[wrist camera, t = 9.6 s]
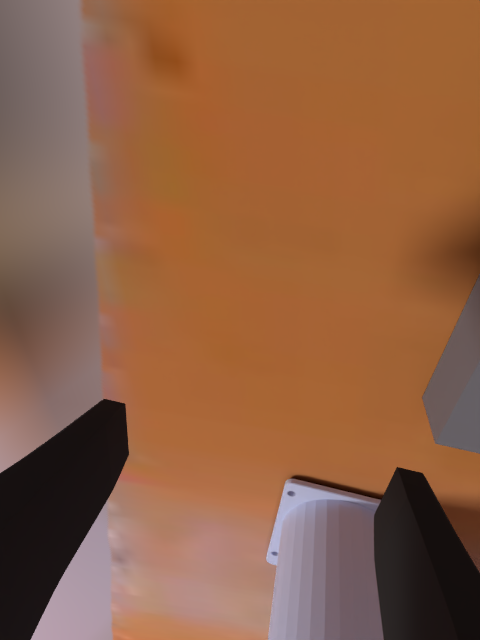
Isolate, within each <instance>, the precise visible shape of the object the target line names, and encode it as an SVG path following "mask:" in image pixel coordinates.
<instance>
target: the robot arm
mask: <svg viewBox="0 0 480 640" xmlns="http://www.w3.org/2000/svg"><path fill="white" fill-rule="evenodd" d="M128 455H129V449H128V436H127V422H126V408H125V404H124V403H120V402H116V401H111V400H107V399H103V400H102V401H100V402H99V403H98V404H96V405H95V406H94V407H92V408H91V409H90V410H88V411H87V412H86V413H84V414H83V415H82V416H80V417H79V418H78V419H76V420H75V421H74V422H73V423H71V424H70V425H69V426H67V427H66V428H64V429H63V430H62V431H60V432H59V433H58V434H56V435H55V436H54V437H52V438H51V439H49V440H48V441H47V442H45V443H44V444H42V445H41V446H40V447H38V448H37V449H36V450H34V451H33V452H31V453H30V454H28V455H27V456H26V457H24V458H23V459H21V460H20V461H18V462H17V463H15V464H14V465H12V466H11V467H9V468H8V469H6V470H4V471H3V472H1V473H0V640H30V639H31V638H32V635H33V633H34V631H35V629H36V627H37V625H38V623H39V621H40V619H41V617H42V615H43V613H44V611H45V609H46V607H47V605H48V603H49V600H50V598H51V596H52V594H53V592H54V590H55V588H56V587H57V585H58V583H59V581H60V579H61V577H62V576H63V574H64V572H65V570H66V569H67V567H68V565H69V564H70V562H71V560H72V558H73V557H74V555H75V553H76V552H77V550H78V548H79V547H80V545H81V543H82V542H83V540H84V538H85V537H86V535H87V533H88V531H89V530H90V528H91V526H92V524H93V523H94V521H95V520H96V518H97V516H98V515H99V513H100V511H101V509H102V508H103V506H104V504H105V503H106V501H107V499H108V498H109V496H110V494H111V492H112V491H113V489H114V486H115V484H116V482H117V480H118V478H119V476H120V474H121V471H122V469H123V467H124V464H125V462H126V460H127V457H128ZM266 560H267V561H268V562H269V563H270V564H273V565H277V569H276V577H275V585H274V593H273V602H272V610H271V618H270V626H269V635H268V640H480V573H479V571H478V569H477V568H476V566H475V564H474V563H473V561H472V559H471V558H470V556H469V554H468V553H467V551H466V549H465V548H464V546H463V544H462V542H461V541H460V539H459V537H458V536H457V534H456V532H455V530H454V529H453V527H452V525H451V523H450V521H449V520H448V518H447V516H446V514H445V512H444V511H443V509H442V507H441V505H440V503H439V502H438V500H437V498H436V496H435V494H434V492H433V491H432V489H431V487H430V485H429V483H428V481H427V480H426V478H425V476H424V475H423V473H420V472H416V471H411V470H407V469H403V468H398V467H397V468H396V470H395V473H394V475H393V477H392V479H391V481H390V483H389V485H388V487H387V489H386V491H385V493H384V495H383V498H382V500H379V499H375V498H371V497H367V496H363V495H359V494H355V493H351V492H346V491H342V490H338V489H334V488H330V487H326V486H322V485H318V484H314V483H310V482H306V481H302V480H297V479H288V480H286V482H285V486H284V490H283V494H282V497H281V501H280V505H279V509H278V513H277V517H276V521H275V525H274V529H273V532H272V536H271V540H270V544H269V548H268V552H267V557H266Z"/></svg>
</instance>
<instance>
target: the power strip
mask: <svg viewBox="0 0 480 640" xmlns="http://www.w3.org/2000/svg"><path fill="white" fill-rule="evenodd" d="M422 399H423V402H424V406H425V409H426V413H427V416H428V420H429V423H430V427H431V430H432V434H433V437H434V441H435V444H440V445H444V446H449V447H453V448H458V449H462V450H467V451H471V452H476V453H480V274H479V277H478V279H477V281H476V283H475V285H474V287H473V290H472V292H471V294H470V296H469V298H468V300H467V302H466V305H465V307H464V309H463V311H462V313H461V315H460V317H459V320H458V322H457V324H456V326H455V328H454V330H453V333H452V335H451V337H450V339H449V341H448V343H447V345H446V348H445V350H444V352H443V354H442V356H441V358H440V360H439V363H438V365H437V367H436V369H435V371H434V373H433V376H432V378H431V380H430V382H429V384H428V386H427V388H426V391H425V393H424V395H423V397H422Z"/></svg>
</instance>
